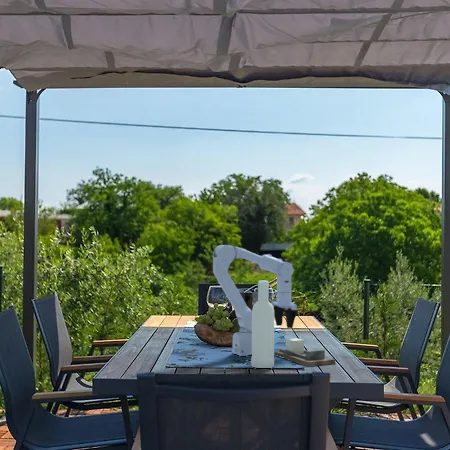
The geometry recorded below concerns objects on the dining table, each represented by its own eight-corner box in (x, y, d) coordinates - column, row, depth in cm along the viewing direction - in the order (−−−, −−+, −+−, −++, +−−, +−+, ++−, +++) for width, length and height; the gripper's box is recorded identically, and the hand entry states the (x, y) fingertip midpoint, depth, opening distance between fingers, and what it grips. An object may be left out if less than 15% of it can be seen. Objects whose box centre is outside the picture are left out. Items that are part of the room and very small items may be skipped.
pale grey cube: (293, 354, 222) (293, 341, 222) (285, 352, 226) (285, 339, 227) (303, 353, 224) (304, 340, 224) (296, 351, 229) (296, 338, 229)
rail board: (308, 366, 207) (308, 353, 208) (274, 355, 227) (274, 343, 227) (335, 363, 213) (335, 351, 213) (300, 353, 232) (300, 341, 233)
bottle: (260, 363, 211) (260, 279, 212) (278, 366, 206) (279, 280, 207) (246, 367, 205) (247, 280, 206) (265, 370, 200) (266, 281, 201)
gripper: (303, 292, 229) (303, 328, 228) (282, 290, 241) (282, 323, 241) (288, 293, 225) (288, 329, 225) (267, 291, 238) (268, 324, 238)
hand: (284, 326), depth 233 cm, fingers open, 7 cm apart
